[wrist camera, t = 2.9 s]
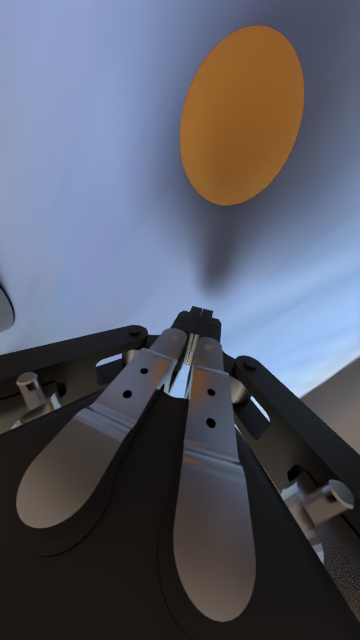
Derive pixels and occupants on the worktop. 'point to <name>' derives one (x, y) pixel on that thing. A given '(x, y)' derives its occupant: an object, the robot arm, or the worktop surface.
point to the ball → (242, 115)
